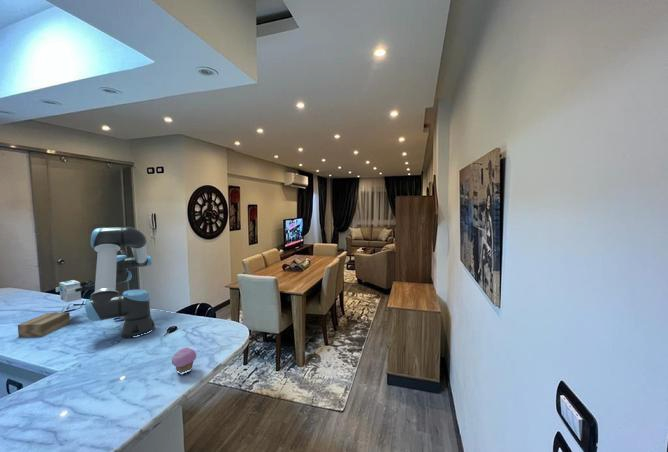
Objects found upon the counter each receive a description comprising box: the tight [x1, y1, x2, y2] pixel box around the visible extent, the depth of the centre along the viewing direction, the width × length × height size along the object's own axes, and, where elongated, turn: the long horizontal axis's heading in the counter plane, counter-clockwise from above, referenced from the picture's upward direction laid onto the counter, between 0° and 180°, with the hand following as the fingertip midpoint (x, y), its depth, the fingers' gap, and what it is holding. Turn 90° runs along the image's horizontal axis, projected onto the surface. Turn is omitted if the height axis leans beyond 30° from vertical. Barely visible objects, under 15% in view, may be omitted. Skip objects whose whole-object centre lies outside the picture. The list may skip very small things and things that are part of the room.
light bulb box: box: [59, 279, 82, 303], centre depth 160 cm, size 11×7×11 cm, turn 61°
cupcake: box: [171, 347, 197, 373], centre depth 111 cm, size 9×9×10 cm
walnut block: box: [17, 312, 71, 338], centre depth 149 cm, size 12×16×7 cm
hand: (61, 290), depth 156 cm, fingers closed on light bulb box, 11 cm apart
